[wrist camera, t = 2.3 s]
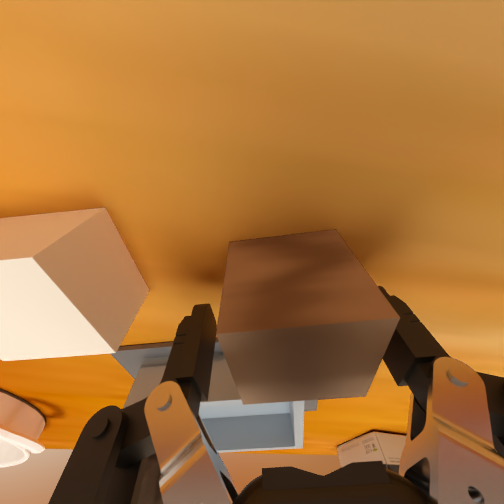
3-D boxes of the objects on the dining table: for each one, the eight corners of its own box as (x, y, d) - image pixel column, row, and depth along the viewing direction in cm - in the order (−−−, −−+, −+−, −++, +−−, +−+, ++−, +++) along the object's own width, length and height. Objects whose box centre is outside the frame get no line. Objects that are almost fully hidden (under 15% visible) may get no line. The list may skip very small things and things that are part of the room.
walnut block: (335, 228, 12) (400, 317, 7) (326, 301, 15) (365, 396, 10) (229, 241, 12) (216, 334, 7) (244, 309, 15) (243, 404, 10)
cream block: (106, 206, 11) (31, 257, 7) (150, 288, 14) (115, 353, 10) (-3, 217, 11) (-131, 272, 7) (66, 296, 14) (3, 361, 11)
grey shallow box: (324, 328, 16) (343, 382, 13) (315, 406, 25) (325, 450, 22) (111, 347, 18) (79, 401, 14) (174, 415, 27) (164, 459, 23)
